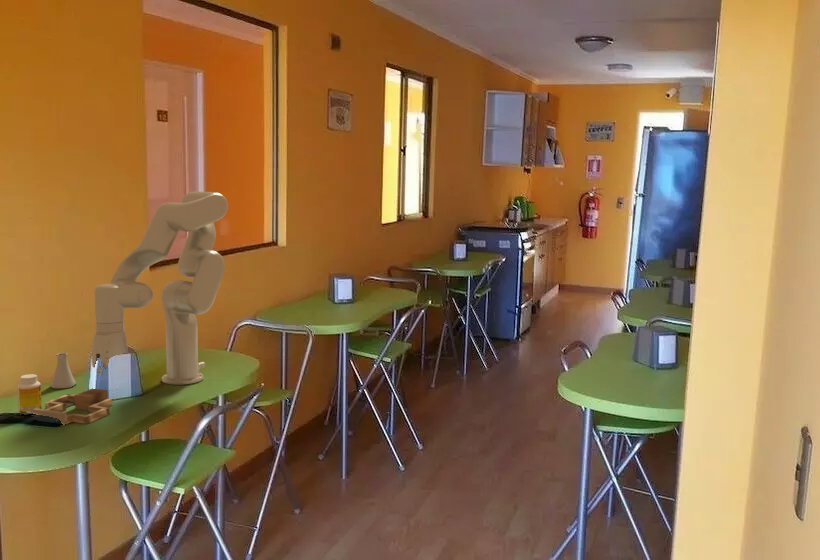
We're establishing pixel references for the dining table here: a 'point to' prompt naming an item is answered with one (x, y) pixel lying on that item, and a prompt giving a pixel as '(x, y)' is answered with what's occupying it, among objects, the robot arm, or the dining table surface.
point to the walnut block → (90, 398)
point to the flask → (62, 373)
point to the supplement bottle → (29, 394)
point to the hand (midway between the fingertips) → (112, 389)
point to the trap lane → (61, 403)
